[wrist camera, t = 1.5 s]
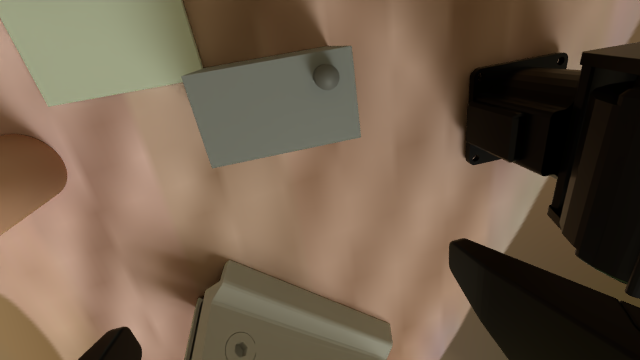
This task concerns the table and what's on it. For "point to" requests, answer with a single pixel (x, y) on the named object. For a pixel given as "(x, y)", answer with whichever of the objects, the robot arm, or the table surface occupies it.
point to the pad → (101, 45)
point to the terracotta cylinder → (27, 177)
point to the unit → (275, 104)
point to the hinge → (279, 323)
